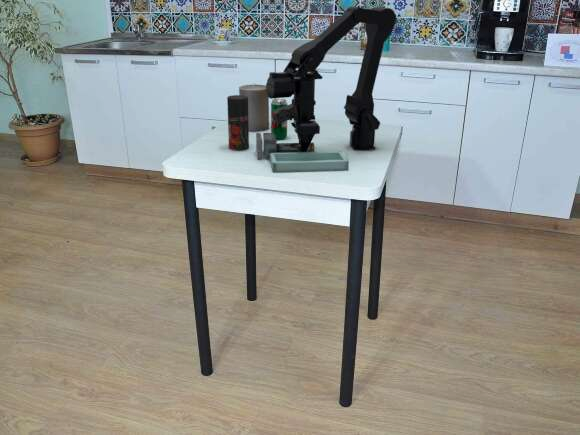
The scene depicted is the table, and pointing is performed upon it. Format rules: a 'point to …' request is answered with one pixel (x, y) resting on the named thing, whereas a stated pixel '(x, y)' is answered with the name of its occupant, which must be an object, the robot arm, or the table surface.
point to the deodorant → (238, 122)
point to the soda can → (277, 129)
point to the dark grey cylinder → (291, 147)
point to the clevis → (266, 145)
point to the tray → (308, 161)
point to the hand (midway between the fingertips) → (302, 150)
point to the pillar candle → (256, 106)
